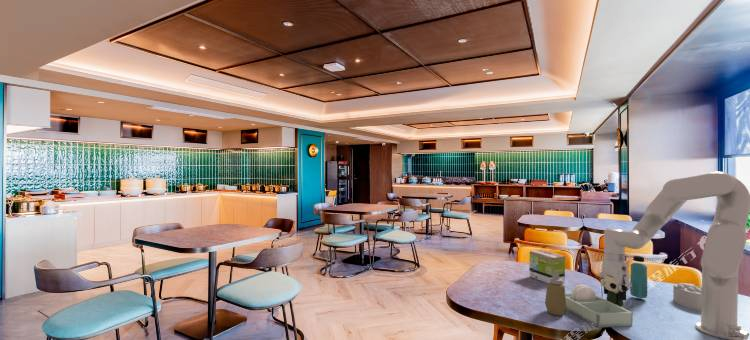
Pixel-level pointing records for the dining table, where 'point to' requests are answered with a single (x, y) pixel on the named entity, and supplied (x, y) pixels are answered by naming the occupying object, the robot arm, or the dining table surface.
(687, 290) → the lumpy-topped squat cylinder
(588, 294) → the racked plates
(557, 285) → the squeeze bottle
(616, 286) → the character mug
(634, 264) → the beverage bottle
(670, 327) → the dining table surface
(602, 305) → the dish rack
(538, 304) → the dining table surface
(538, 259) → the tea box
